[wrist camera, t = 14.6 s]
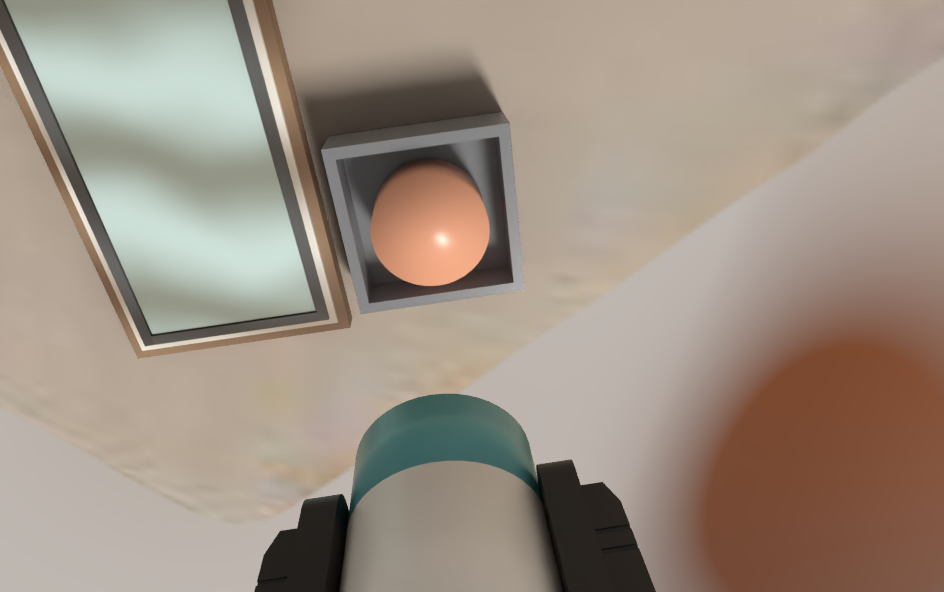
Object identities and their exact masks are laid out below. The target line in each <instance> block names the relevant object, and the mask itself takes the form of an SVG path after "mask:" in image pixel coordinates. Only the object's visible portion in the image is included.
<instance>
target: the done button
mask: <svg viewBox="0 0 944 592" xmlns="http://www.w3.org/2000/svg"><path fill="white" fill-rule="evenodd" d="M489 234H490V228H489V220H488V216H487V212H486V209H485V205H484V202H483V198H482V195H481V192H480V190H479V188H478V186H477V185H476V183H475V182H474V180H473V179H472V178H471V177H470V175H469V174H467V173H466V172H465V171H464V170H463V169H461V168H460V167H458V166H457V165H454V164H452V163H450V162H447V161H444V160H439V159H430V158H427V159H418V160H414V161H411V162H408V163H405V164H403V165H401V166H400V167H398V168H397V169H395V170H394V171H393V172H392V173H391V174H389V175H388V177H387V178H386V179H385V180H384V182H383V183H382V185H381V186H380V188H379V191H378V193H377V196H376V200H375V204H374V209H373V214H372V219H371V226H370V235H371V241H372V245H373V248H374V251H375V253H376V255H377V257H378V258H379V260H380V261H381V263H382V264H383V265H384V266H385V267H386V268H387V269H388V270H389V271H390V272H391V273H392V274H394V275H395V276H397V277H398V278H400V279H402V280H404V281H407V282H409V283H412V284H416V285H422V286H438V285H444V284H448V283H451V282H454V281H456V280H458V279H460V278H462V277H463V276H465V275H467V274H468V273H469V272H470V271H471V270H473V268H474V267H475V266H476V265H477V264H478V263H479V261H480V260H481V259H482V257H483V255H484V253H485V251H486V248H487V245H488V241H489Z"/></svg>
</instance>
